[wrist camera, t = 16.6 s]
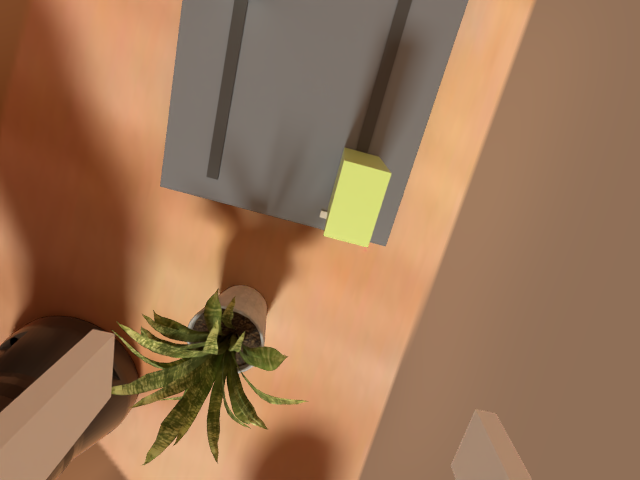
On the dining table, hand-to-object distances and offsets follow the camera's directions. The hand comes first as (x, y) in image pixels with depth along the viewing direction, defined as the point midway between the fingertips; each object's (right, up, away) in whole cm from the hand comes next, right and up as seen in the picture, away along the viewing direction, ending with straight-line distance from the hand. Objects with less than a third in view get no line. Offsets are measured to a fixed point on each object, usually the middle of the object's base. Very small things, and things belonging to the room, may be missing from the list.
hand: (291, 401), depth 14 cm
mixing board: (0, +20, +19) cm, 27 cm away
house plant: (-6, 0, +26) cm, 27 cm away
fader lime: (+4, +11, +19) cm, 22 cm away
